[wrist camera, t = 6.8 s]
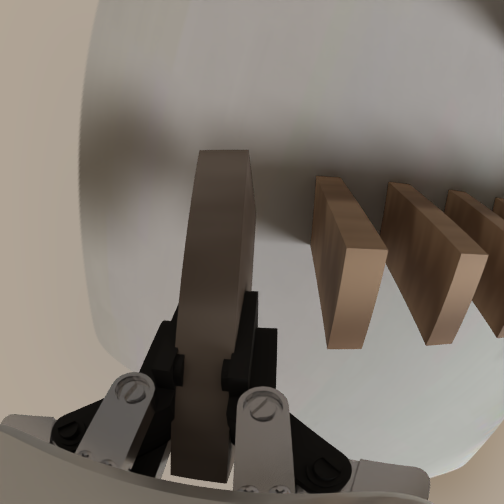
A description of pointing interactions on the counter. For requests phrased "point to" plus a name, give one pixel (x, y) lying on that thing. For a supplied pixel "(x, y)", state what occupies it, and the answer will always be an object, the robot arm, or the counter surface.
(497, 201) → the domino
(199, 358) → the domino
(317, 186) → the domino
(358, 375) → the counter surface
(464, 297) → the domino
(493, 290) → the domino
